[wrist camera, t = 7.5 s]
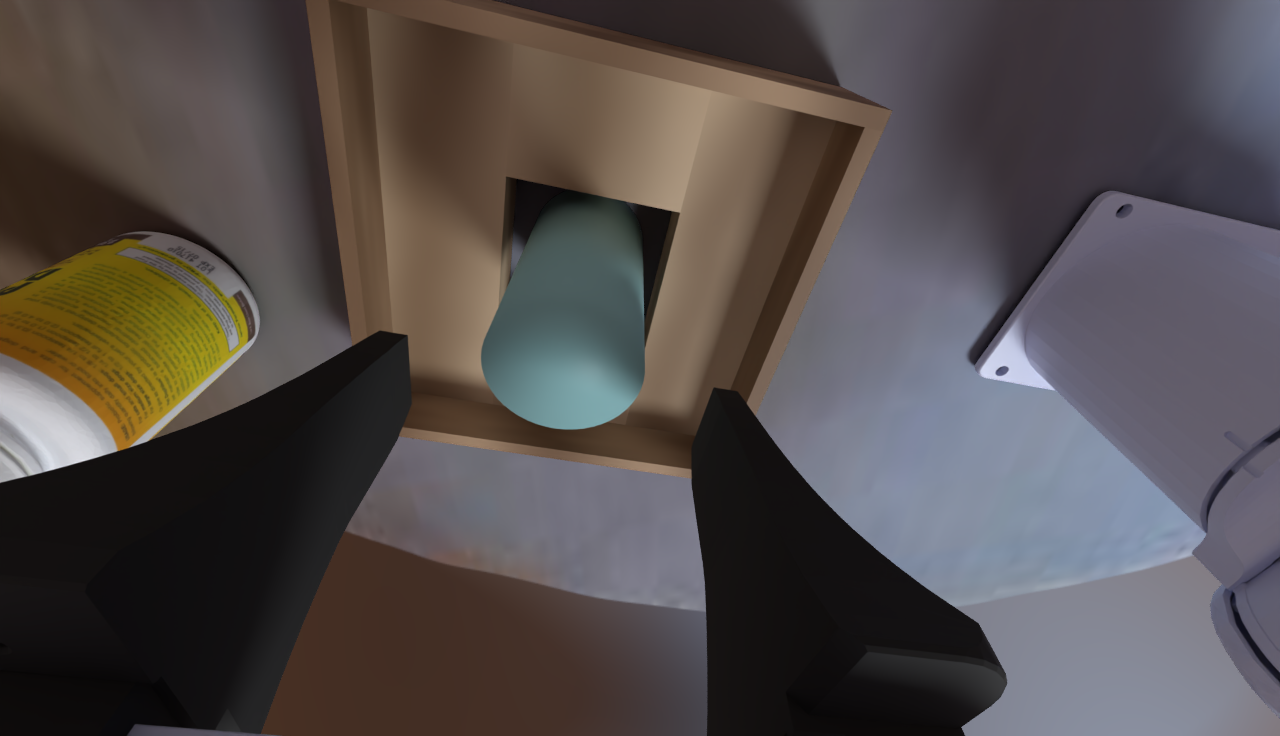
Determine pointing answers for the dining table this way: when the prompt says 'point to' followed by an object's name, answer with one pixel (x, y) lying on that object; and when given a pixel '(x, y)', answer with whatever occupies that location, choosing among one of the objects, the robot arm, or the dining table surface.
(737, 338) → the box
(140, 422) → the supplement bottle
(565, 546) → the dining table surface
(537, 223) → the peg
